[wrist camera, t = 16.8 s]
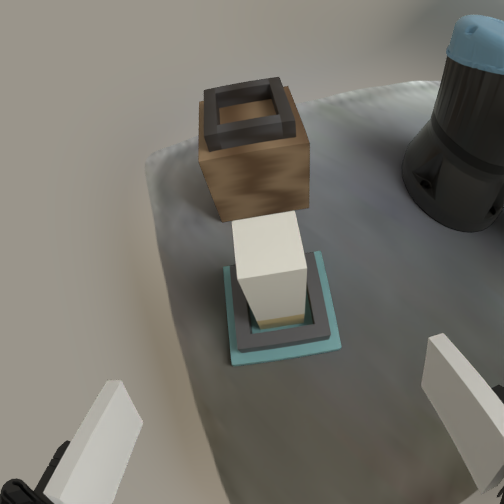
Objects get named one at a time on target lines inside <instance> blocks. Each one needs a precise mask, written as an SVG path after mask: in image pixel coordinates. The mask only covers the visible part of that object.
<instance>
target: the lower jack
mask: <svg viewBox="0 0 504 504" xmlns="http://www.w3.org/2000/svg"><path fill="white" fill-rule="evenodd" d="M304 255H305V260H306V265H307V282H306V299H305V314H304V323H301V324H295V325H288V326H282V327H276V328H269V329H262V330H261V329H260V327H259V325H258V323H257V321H256V318H255V316H254V314H253V312H252V310H251V308H250V306H249V303H248V301H247V299H246V297H245V295H244V293H243V290H242V288H241V286H240V284H239V282H238V280H237V270H236V265H231V266H225V267H223V272H224V285H225V297H226V308H227V320H228V331H229V342H230V352H231V362H232V366H242V365H250V364H258V363H265V362H272V361H279V360H286V359H292V358H298V357H304V356H310V355H316V354H321V353H327V352H332V351H337V350H340V349H341V348H342V347H341V342H340V337H339V332H338V327H337V322H336V317H335V312H334V307H333V303H332V298H331V293H330V289H329V284H328V280H327V275H326V271H325V267H324V262H323V258H322V254H321V251H317V252H310V253H304Z"/></svg>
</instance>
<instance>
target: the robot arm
mask: <svg viewBox="0 0 504 504" xmlns="http://www.w3.org/2000/svg"><path fill="white" fill-rule="evenodd" d="M446 53H447V60H446V64H445V68H444V73H443V76H442V80H441V84H440V88H439V92H438V95H437V99H436V102H435V105H434V109H433V113H432V116H431V119H430V120H429V121H428V122H427V124H426V125H425V126H424V127H423V128H422V129H421V131H420V132H419V133H418V134H417V135H416V137H415V138H414V139H413V140H412V141H411V143H410V144H409V146H408V148H407V150H406V153H405V157H404V160H403V164H402V175H403V179H404V182H405V185H406V187H407V189H408V191H409V193H410V195H411V196H412V198H413V199H414V200H415V202H416V203H417V204H418V205H419V206H420V207H421V208H422V209H423V210H424V211H425V212H426V213H427V214H428V215H430V216H431V217H432V218H434V219H435V220H436V221H438V222H440V223H442V224H443V225H445V226H447V227H450V228H452V229H455V230H459V231H464V232H476V231H481V230H484V229H486V228H487V227H489V226H490V225H491V224H492V223H493V222H494V221H495V219H496V218H497V217H498V215H499V214H500V213H501V211H502V209H503V206H504V21H501V20H498V19H495V18H492V17H487V16H482V15H466V16H463V17H461V18H460V19H459V20H458V21H457V22H456V24H455V27H454V30H453V34H452V38H451V41H450V45H449V46H448V47H447V51H446ZM421 387H422V389H423V390H424V392H425V393H426V395H427V397H428V398H429V400H430V402H431V403H432V405H433V407H434V409H435V410H436V412H437V414H438V415H439V417H440V419H441V421H442V422H443V424H444V426H445V428H446V429H447V431H448V433H449V435H450V436H451V438H452V440H453V442H454V444H455V445H456V447H457V449H458V451H459V453H460V455H461V456H462V458H463V460H464V462H465V464H466V466H467V468H468V470H469V472H470V474H471V476H472V477H473V479H474V481H475V483H476V485H477V487H478V489H479V491H480V493H481V494H483V493H485V492H487V491H489V490H490V489H492V488H494V487H496V486H498V484H499V483H500V482H501V481H502V479H503V478H504V387H502V386H500V385H497V386H495V387H493V388H490V387H489V385H488V384H487V383H486V382H485V380H484V379H483V378H482V377H481V376H480V374H479V373H478V372H477V371H476V370H475V369H474V367H473V366H472V365H471V364H470V363H469V362H468V360H467V359H466V358H465V357H464V356H463V355H462V353H461V352H460V351H459V350H458V349H457V348H456V347H455V346H454V344H453V343H452V342H451V341H450V340H449V339H448V338H447V337H446V336H445V334H444V333H442V334H439V335H435V336H432V337H428V344H427V352H426V359H425V365H424V371H423V377H422V382H421ZM142 425H143V421H142V419H141V417H140V415H139V414H138V412H137V410H136V408H135V406H134V404H133V402H132V400H131V398H130V396H129V394H128V393H127V390H126V389H125V386H124V384H123V382H122V381H121V380H107V382H106V383H105V385H104V387H103V388H102V390H101V391H100V393H99V395H98V396H97V398H96V400H95V401H94V403H93V405H92V406H91V408H90V410H89V411H88V413H87V415H86V416H85V418H84V420H83V422H82V423H81V425H80V427H79V428H78V430H77V432H76V434H75V435H74V437H73V439H72V441H66V442H64V443H63V444H62V445H61V446H60V447H59V448H58V449H57V451H56V453H55V455H54V456H53V459H52V460H51V462H50V463H49V466H48V467H47V468H46V471H45V472H44V474H43V476H42V478H41V479H40V481H39V483H38V485H37V487H36V488H35V490H34V491H33V490H31V489H30V488H29V487H28V486H27V485H26V484H25V483H24V482H23V481H22V480H20V479H11V480H9V481H7V482H6V483H5V484H4V485H3V487H2V490H1V494H0V504H113V501H114V498H115V496H116V493H117V490H118V487H119V485H120V482H121V479H122V477H123V474H124V471H125V469H126V466H127V464H128V461H129V458H130V456H131V453H132V450H133V448H134V445H135V443H136V440H137V438H138V435H139V432H140V430H141V427H142ZM502 493H503V495H502V499H501V502H500V504H504V487H503V488H502V489H501V490H500V492H499V493H498V495H497V497H500V495H501V494H502Z"/></svg>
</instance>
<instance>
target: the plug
mask: <svg viewBox="0 0 504 504" xmlns="http://www.w3.org/2000/svg"><path fill="white" fill-rule="evenodd" d="M232 229H233V239H234V250H235V260H236V270H237V280H238V282H239V284H240V286H241V288H242V290H243V293H244V295H245V297H246V299H247V301H248V303H249V306H250V308H251V310H252V312H253V314H254V316H255V318H256V321H257V323H258V325H259V327H260V329H261V330H262V329H269V328H276V327H282V326H288V325H295V324H301V323H304V314H305V299H306V282H307V265H306V260H305V255H304V250H303V246H302V241H301V237H300V232H299V227H298V223H297V219H296V214H295V211H290V212H284V213H278V214H272V215H266V216H260V217H254V218H248V219H242V220H236V221H232Z"/></svg>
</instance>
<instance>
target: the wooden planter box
mask: <svg viewBox="0 0 504 504" xmlns="http://www.w3.org/2000/svg"><path fill="white" fill-rule="evenodd" d="M199 164H200V167H201V170H202V172H203V175H204V177H205V180H206V182H207V185H208V188H209V190H210V193H211V195H212V198H213V200H214V203H215V206H216V208H217V211H218V213H219V216H220V218H221V221H222V222H227V221H233V220H238V219H244V218H250V217H256V216H262V215H268V214H274V213H280V212H286V211H292V210H298V209H305V208H309V177H310V143H309V140H308V137H307V134H306V132H305V129H304V126H303V124H302V121H301V118H300V116H299V113H298V110H297V108H296V105H295V103H294V100H293V98H292V95H291V93H290V90H289V88H288V86H287V87H283V86H282V83H281V80H280V78H279V77H275V78H268V79H261V80H255V81H248V82H243V83H237V84H232V85H226V86H221V87H217V88H212V89H207V90H204V101H201V102H199Z"/></svg>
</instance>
